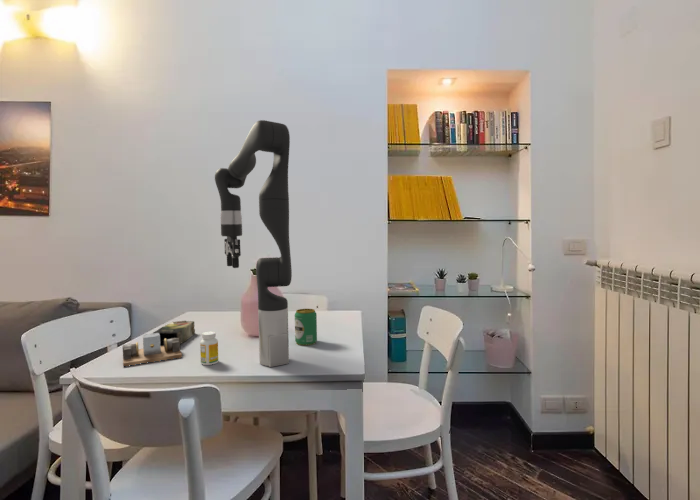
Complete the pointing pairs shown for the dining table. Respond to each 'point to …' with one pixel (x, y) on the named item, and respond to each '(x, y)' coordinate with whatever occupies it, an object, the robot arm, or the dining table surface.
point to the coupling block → (151, 344)
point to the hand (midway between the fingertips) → (232, 266)
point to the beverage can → (305, 327)
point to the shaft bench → (137, 356)
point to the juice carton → (177, 330)
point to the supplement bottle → (209, 348)
